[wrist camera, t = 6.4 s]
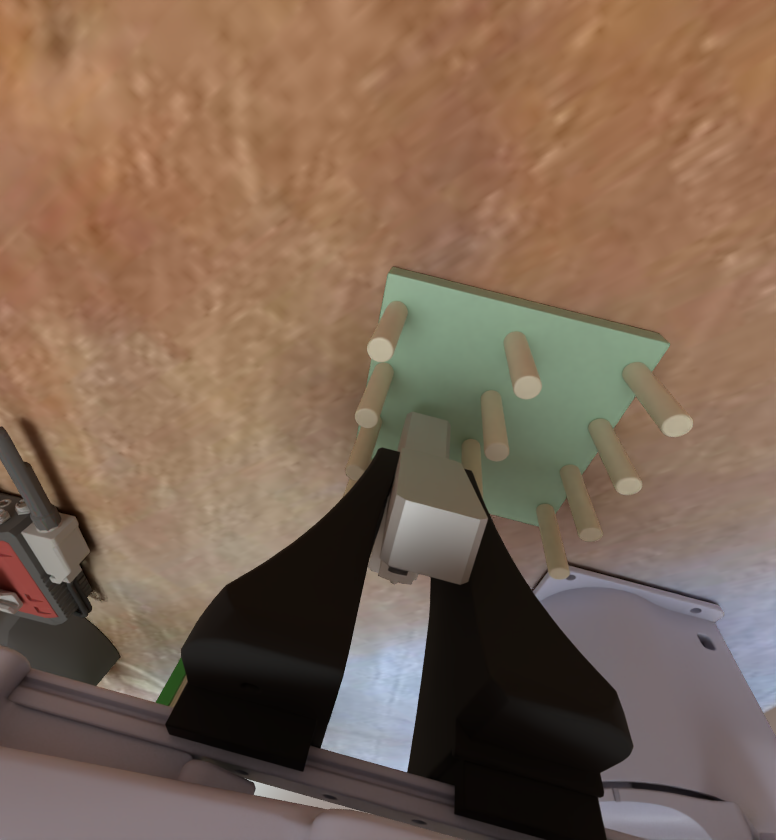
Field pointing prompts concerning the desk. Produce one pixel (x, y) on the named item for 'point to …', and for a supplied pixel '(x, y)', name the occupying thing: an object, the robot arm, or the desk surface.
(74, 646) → the alarm clock
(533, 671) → the robot arm
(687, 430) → the dish rack
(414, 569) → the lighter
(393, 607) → the desk surface
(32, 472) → the walkie-talkie
